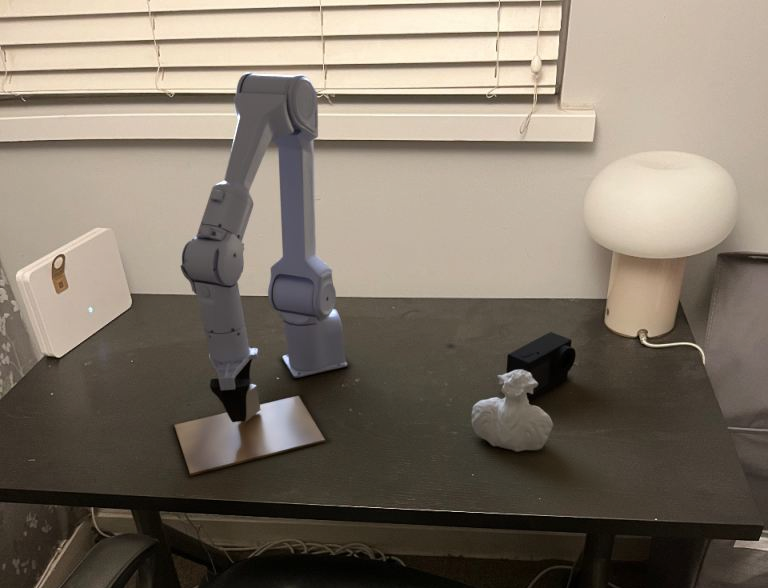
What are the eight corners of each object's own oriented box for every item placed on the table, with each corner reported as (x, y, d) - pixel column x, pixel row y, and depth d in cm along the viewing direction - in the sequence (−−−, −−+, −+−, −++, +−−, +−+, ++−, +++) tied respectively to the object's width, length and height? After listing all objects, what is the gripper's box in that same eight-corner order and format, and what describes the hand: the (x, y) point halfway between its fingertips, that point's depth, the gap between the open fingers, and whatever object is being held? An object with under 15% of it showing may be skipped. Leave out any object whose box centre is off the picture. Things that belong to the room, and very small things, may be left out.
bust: (550, 460, 110) (571, 384, 109) (539, 456, 103) (561, 374, 102) (473, 441, 115) (492, 368, 114) (457, 436, 108) (478, 357, 107)
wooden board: (298, 397, 123) (298, 395, 123) (325, 441, 113) (324, 439, 113) (174, 426, 118) (174, 424, 118) (190, 475, 108) (189, 473, 108)
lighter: (252, 406, 120) (243, 361, 115) (261, 409, 119) (253, 363, 114) (223, 429, 115) (213, 382, 110) (232, 432, 115) (222, 385, 110)
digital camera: (531, 406, 118) (535, 365, 113) (504, 393, 121) (507, 353, 117) (573, 381, 123) (578, 341, 119) (546, 370, 126) (550, 331, 122)
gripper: (249, 346, 102) (264, 432, 110) (255, 301, 113) (269, 382, 122) (196, 350, 102) (215, 436, 110) (208, 304, 113) (224, 385, 122)
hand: (240, 408), depth 116 cm, fingers closed on lighter, 6 cm apart
